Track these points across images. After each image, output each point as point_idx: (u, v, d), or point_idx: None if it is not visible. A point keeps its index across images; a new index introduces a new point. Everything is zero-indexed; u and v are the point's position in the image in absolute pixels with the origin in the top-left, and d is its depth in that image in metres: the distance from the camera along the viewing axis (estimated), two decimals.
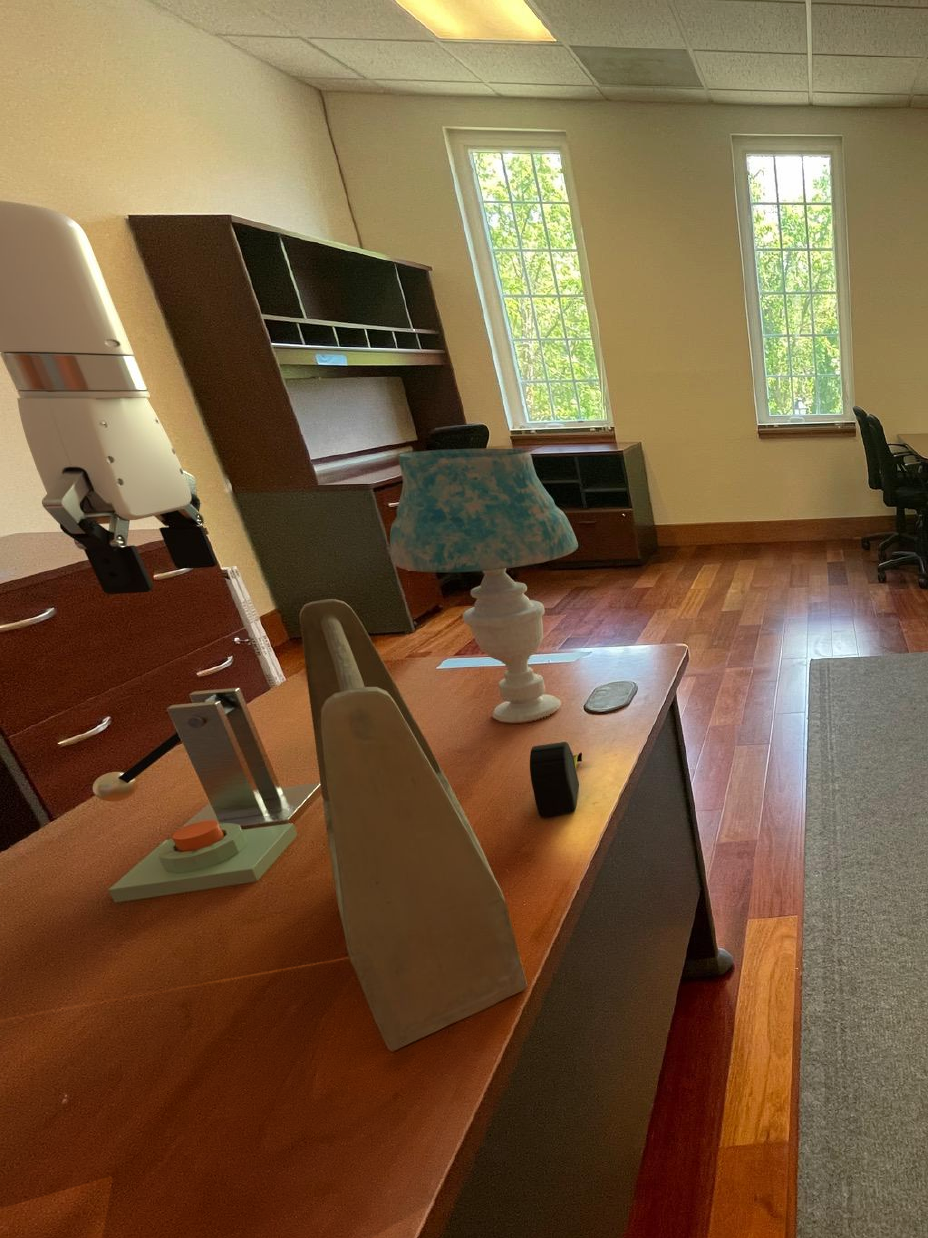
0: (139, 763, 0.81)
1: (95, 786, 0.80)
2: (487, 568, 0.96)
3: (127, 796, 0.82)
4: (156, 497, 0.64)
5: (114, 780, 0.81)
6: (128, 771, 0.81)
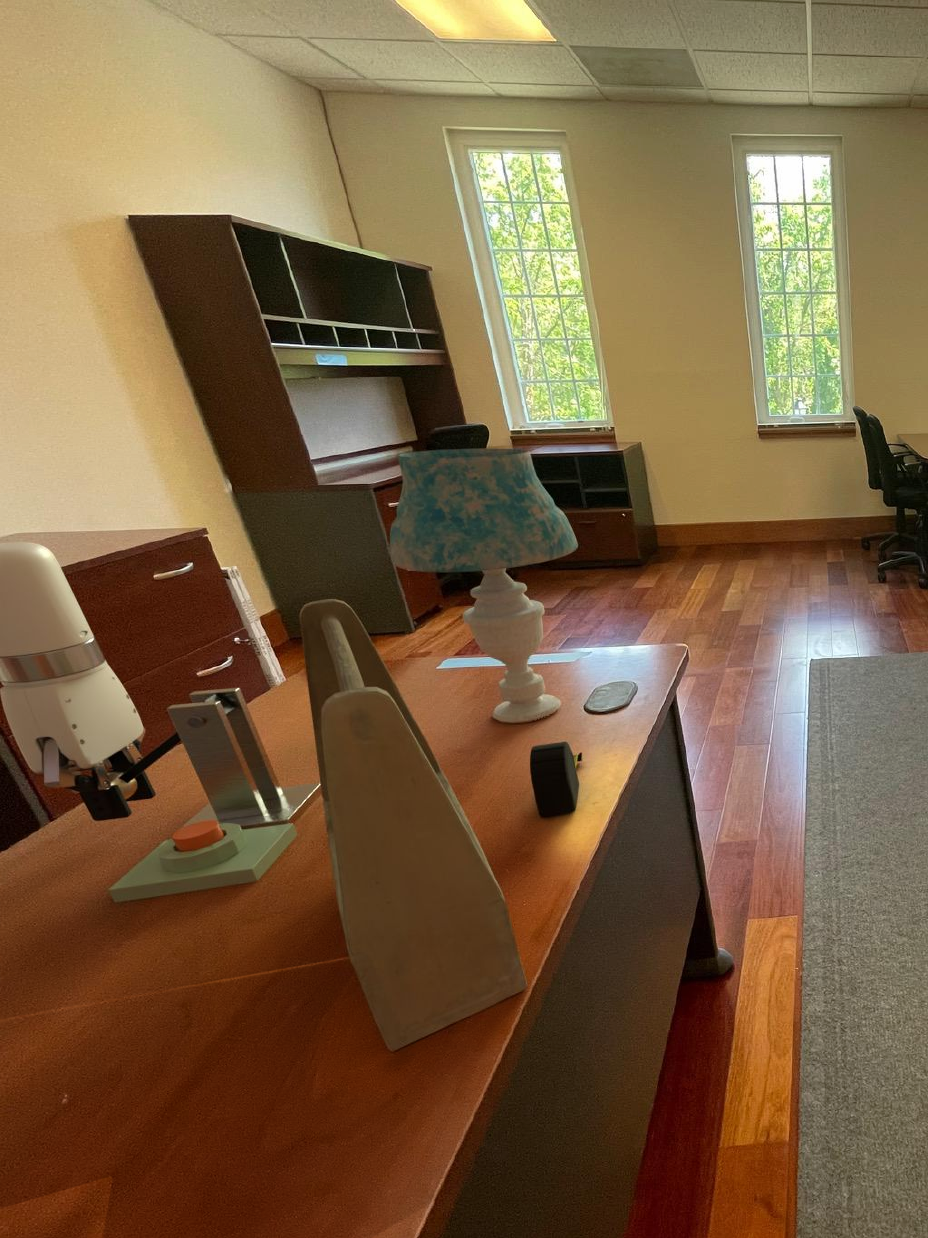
0: (139, 763, 0.81)
1: None
2: (487, 568, 0.96)
3: (127, 796, 0.82)
4: (112, 742, 0.79)
5: (114, 780, 0.81)
6: (128, 771, 0.81)
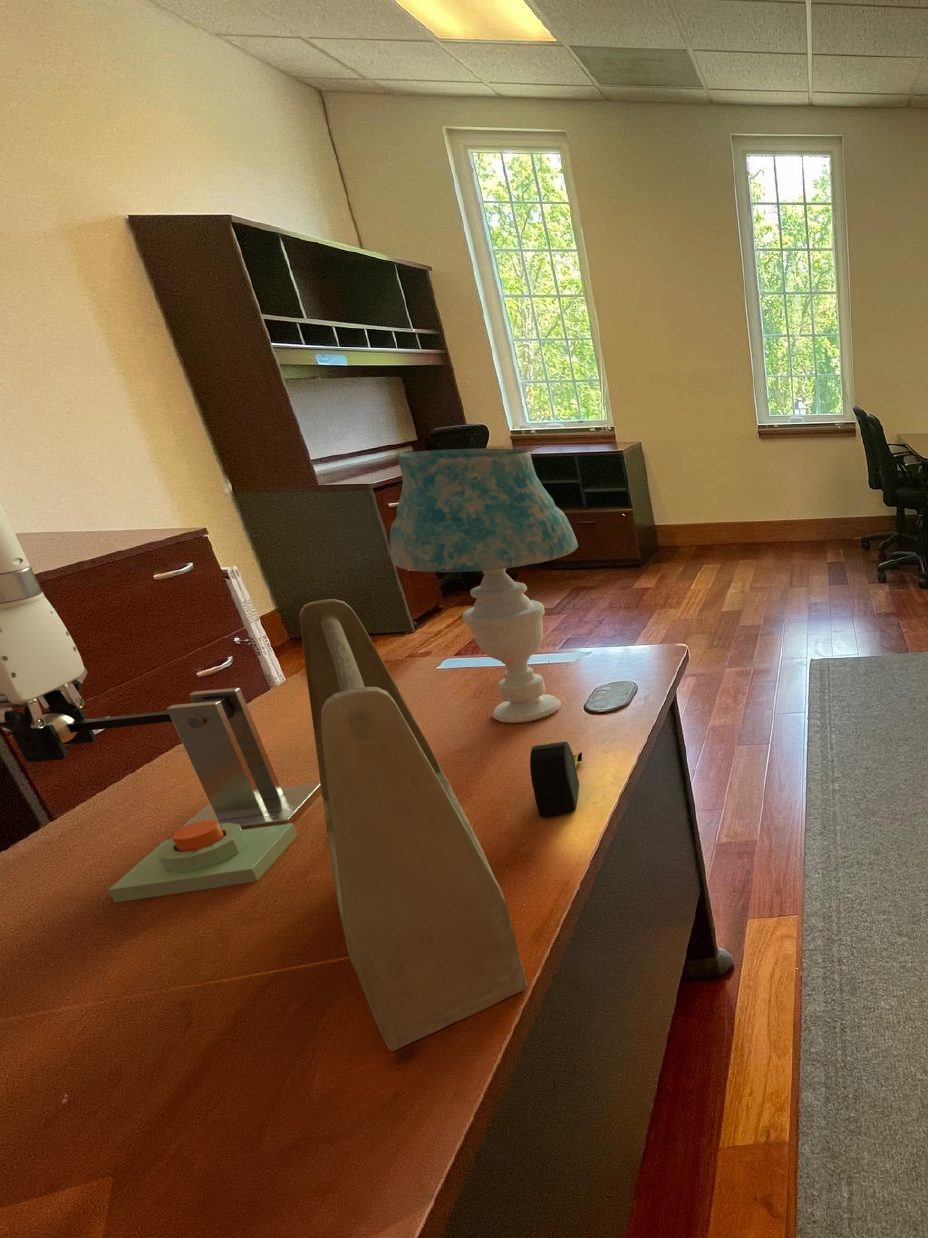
0: (100, 722, 0.79)
1: None
2: (487, 568, 0.96)
3: None
4: (48, 679, 0.76)
5: (61, 726, 0.77)
6: (82, 724, 0.78)
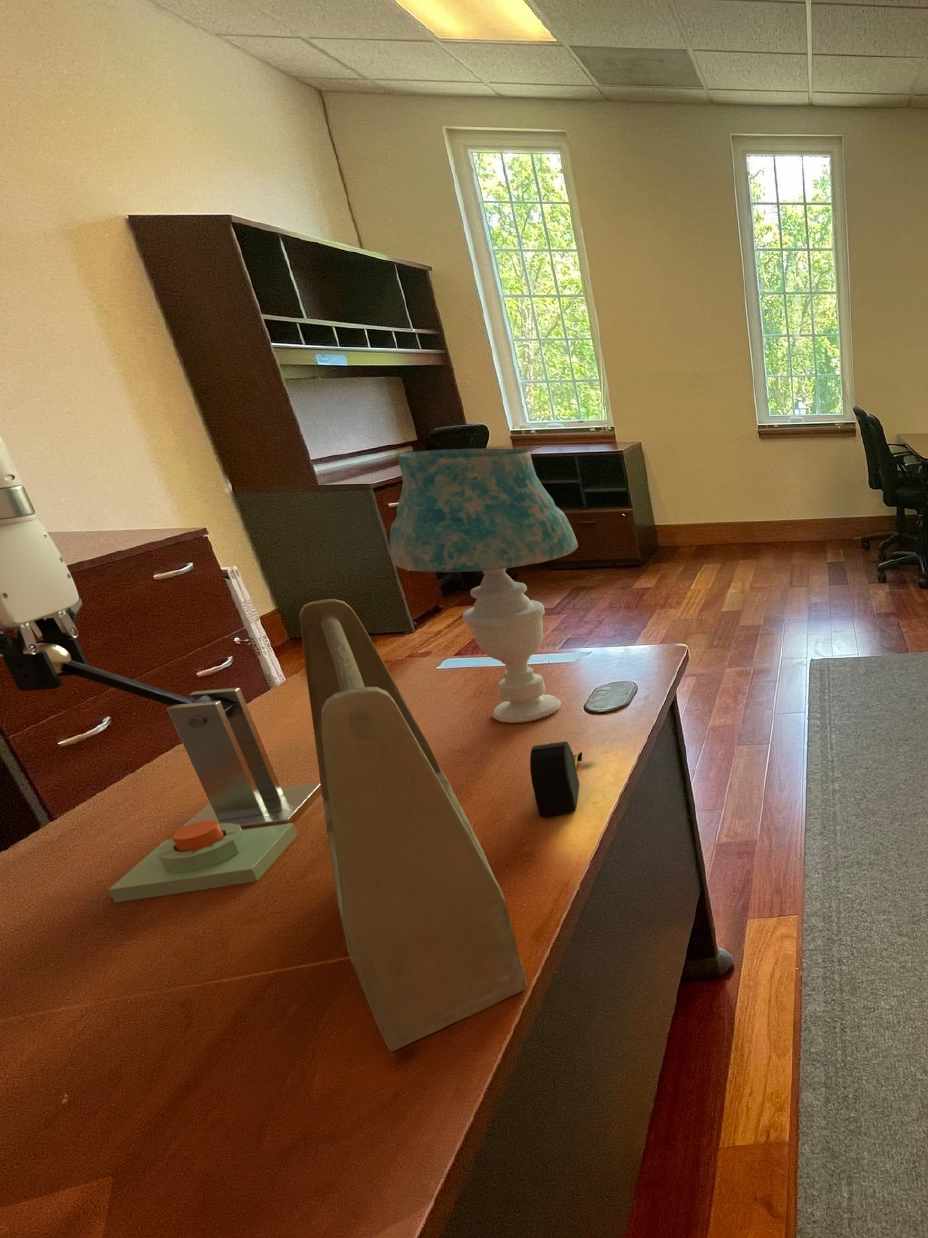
0: (98, 676, 0.77)
1: None
2: (487, 568, 0.96)
3: None
4: (41, 603, 0.73)
5: (58, 663, 0.75)
6: (79, 669, 0.76)
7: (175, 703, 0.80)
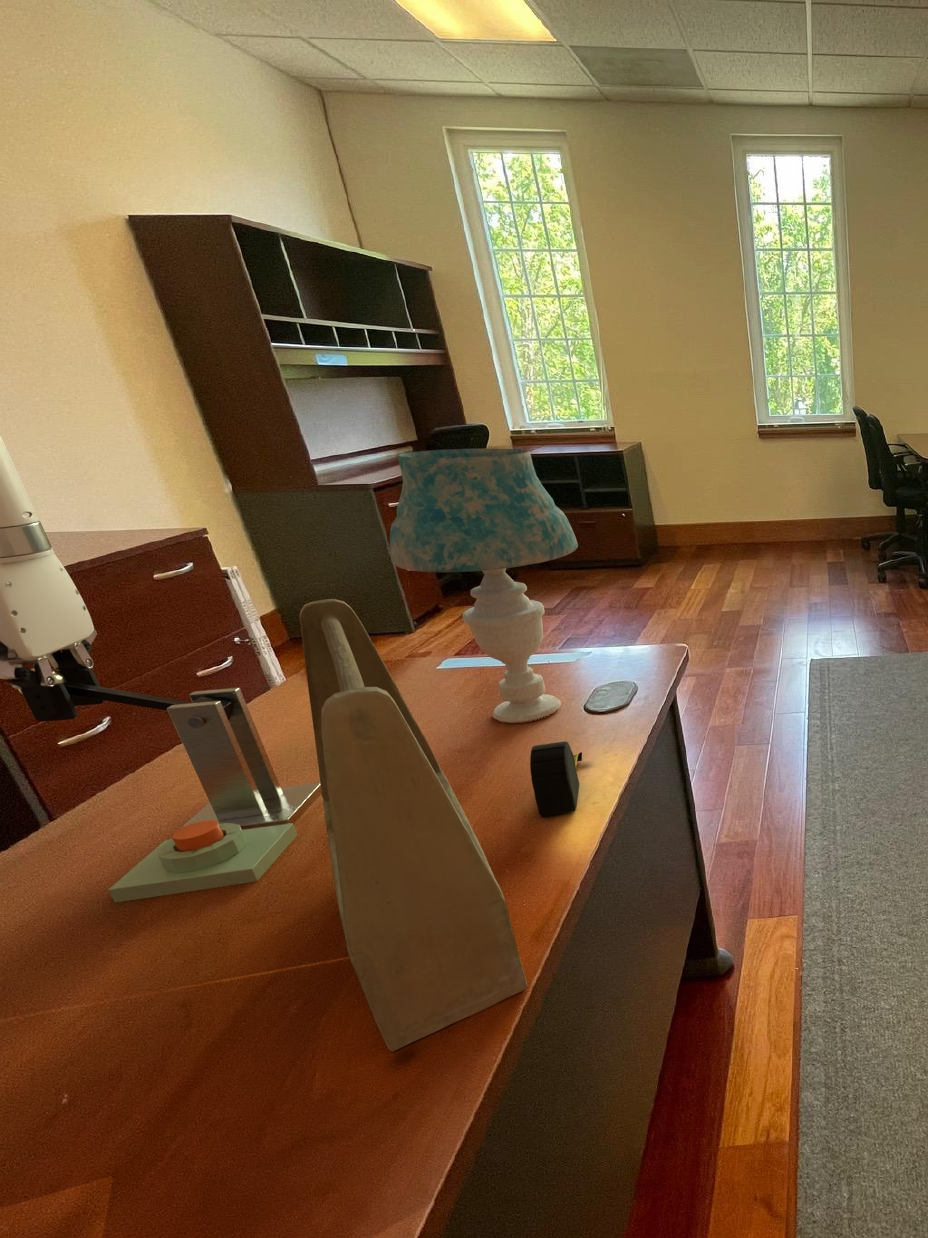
0: (94, 692, 0.77)
1: None
2: (487, 568, 0.96)
3: None
4: (58, 636, 0.74)
5: None
6: (75, 688, 0.77)
7: None
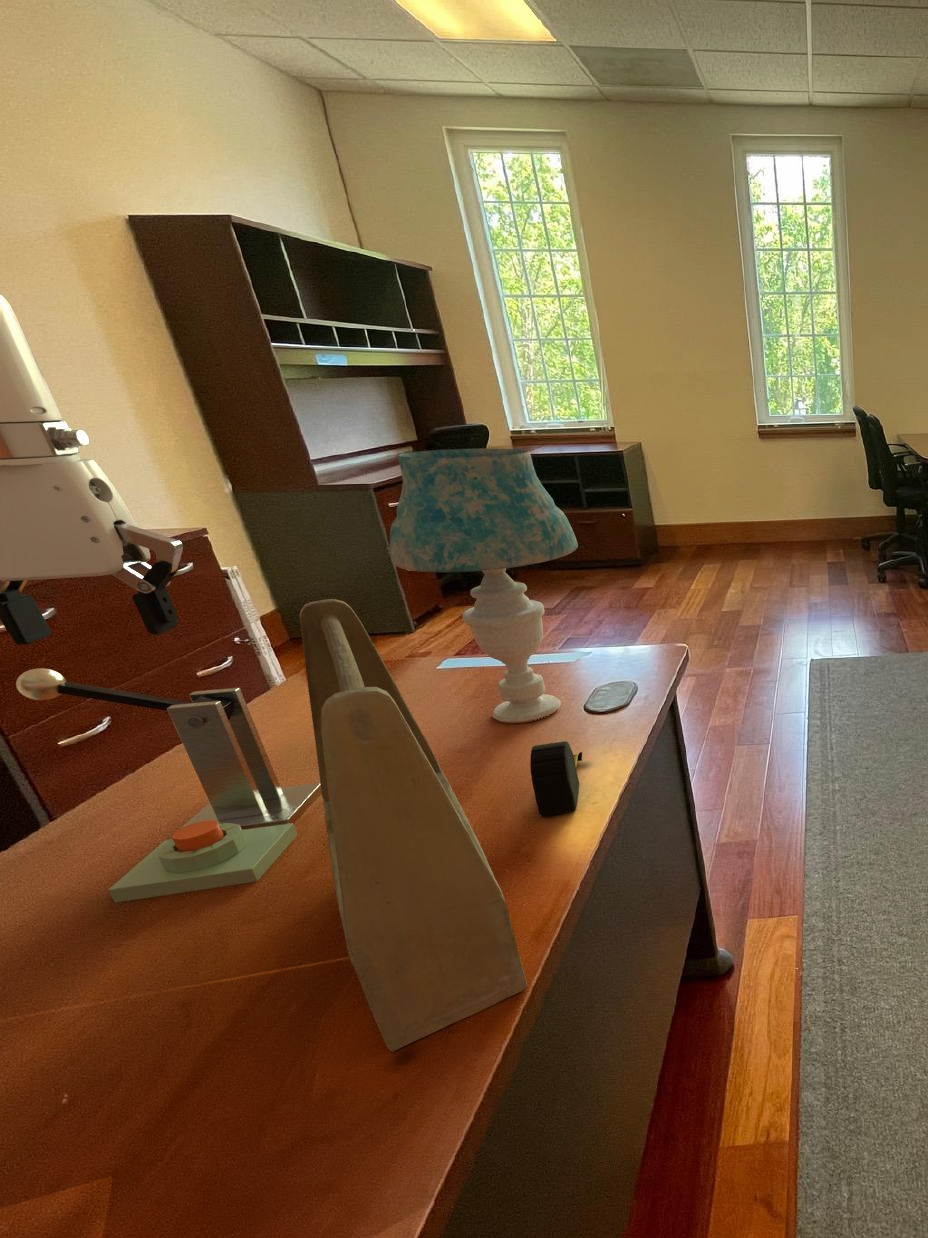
0: (94, 692, 0.77)
1: (30, 678, 0.75)
2: (487, 568, 0.96)
3: None
4: (33, 563, 0.62)
5: (52, 685, 0.76)
6: (75, 689, 0.77)
7: None
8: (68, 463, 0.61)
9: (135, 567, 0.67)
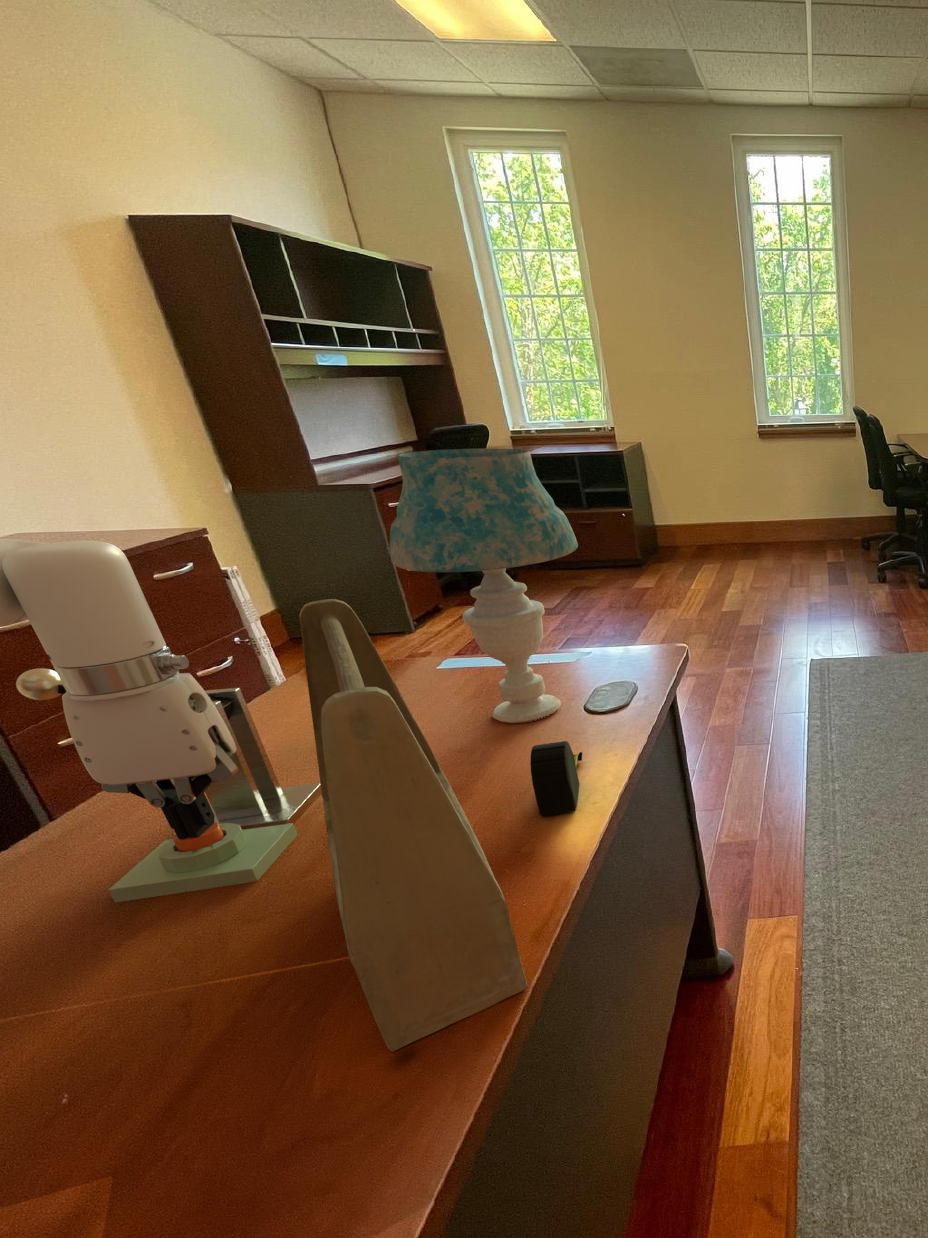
0: None
1: (30, 678, 0.75)
2: (487, 568, 0.96)
3: None
4: (139, 770, 0.71)
5: (52, 685, 0.76)
6: None
7: None
8: (172, 686, 0.69)
9: None
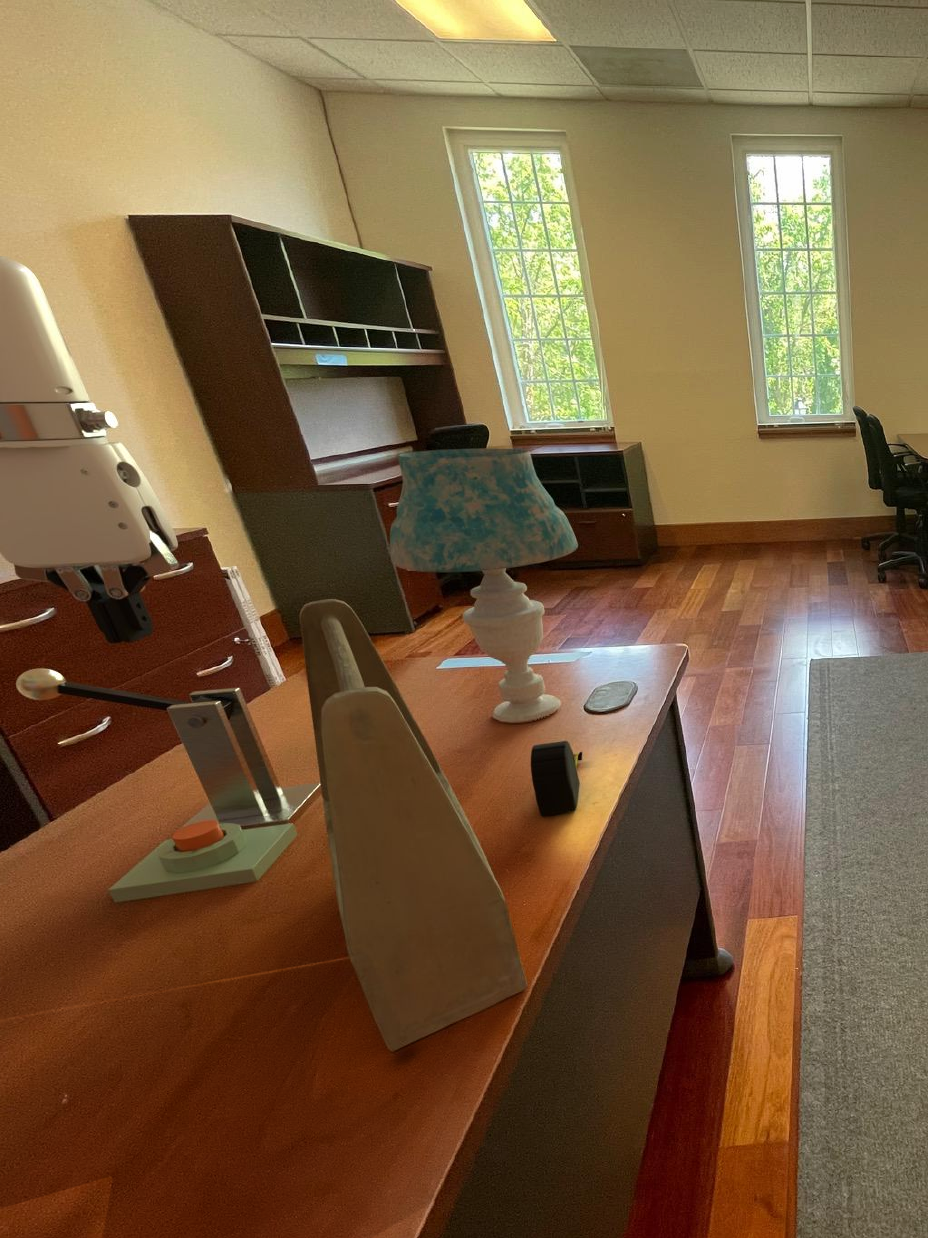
0: (94, 692, 0.77)
1: (30, 678, 0.75)
2: (487, 568, 0.96)
3: None
4: (58, 549, 0.60)
5: (52, 685, 0.76)
6: (75, 689, 0.77)
7: None
8: (96, 446, 0.59)
9: None
